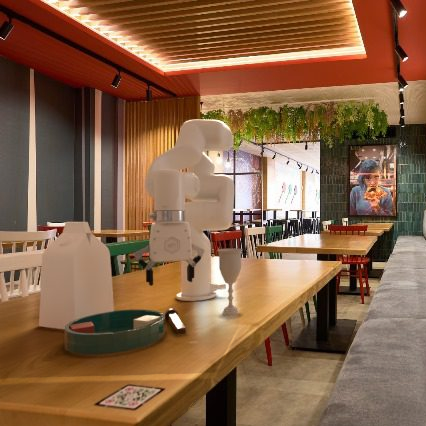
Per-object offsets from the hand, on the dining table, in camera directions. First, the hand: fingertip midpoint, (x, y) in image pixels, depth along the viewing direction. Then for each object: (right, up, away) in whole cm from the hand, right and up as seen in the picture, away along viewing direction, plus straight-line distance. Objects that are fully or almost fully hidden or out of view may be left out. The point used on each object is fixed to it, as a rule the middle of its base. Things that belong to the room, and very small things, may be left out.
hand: (170, 283), depth 104 cm
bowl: (-6, -10, -16) cm, 19 cm away
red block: (-12, -10, -19) cm, 24 cm away
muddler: (0, -8, 0) cm, 8 cm away
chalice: (+15, -10, +5) cm, 18 cm away
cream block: (0, -9, -14) cm, 17 cm away
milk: (-23, -10, -3) cm, 25 cm away
